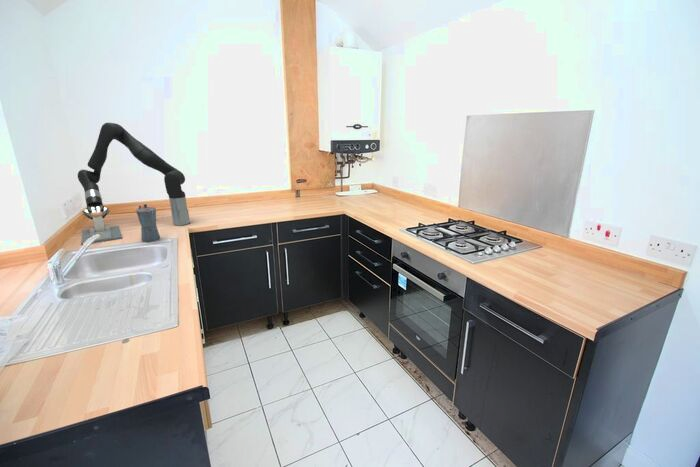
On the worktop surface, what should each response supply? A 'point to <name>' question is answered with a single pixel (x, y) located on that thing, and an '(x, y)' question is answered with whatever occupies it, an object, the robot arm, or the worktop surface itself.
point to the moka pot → (148, 223)
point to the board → (115, 236)
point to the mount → (102, 233)
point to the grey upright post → (98, 221)
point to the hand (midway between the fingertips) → (98, 224)
